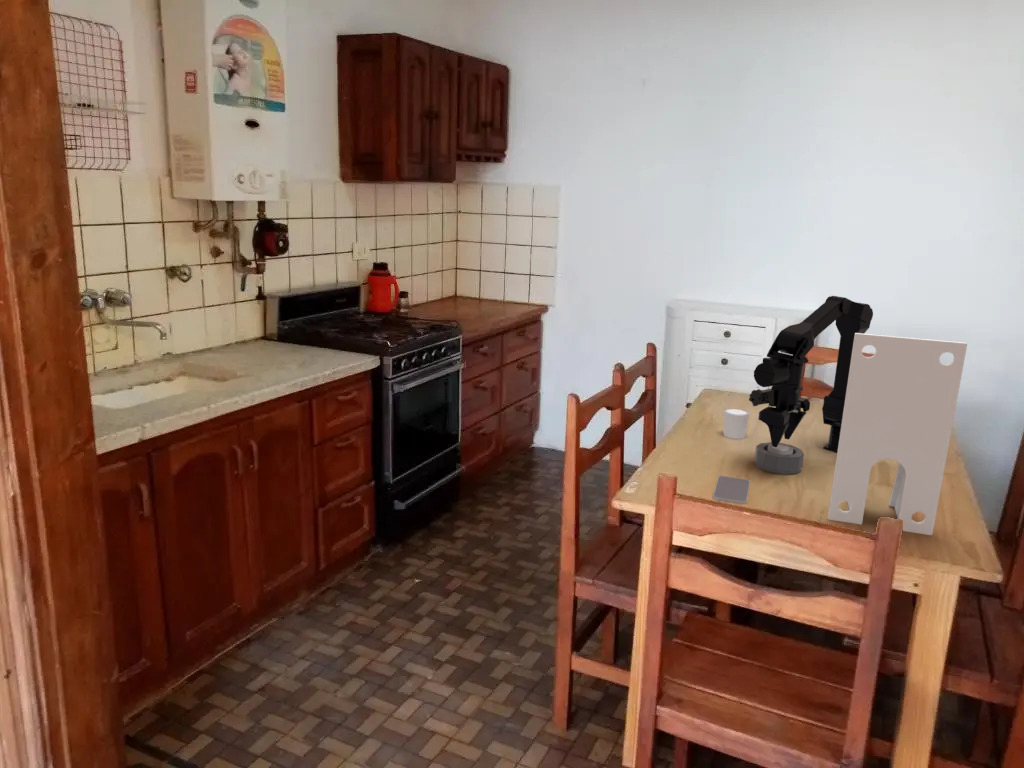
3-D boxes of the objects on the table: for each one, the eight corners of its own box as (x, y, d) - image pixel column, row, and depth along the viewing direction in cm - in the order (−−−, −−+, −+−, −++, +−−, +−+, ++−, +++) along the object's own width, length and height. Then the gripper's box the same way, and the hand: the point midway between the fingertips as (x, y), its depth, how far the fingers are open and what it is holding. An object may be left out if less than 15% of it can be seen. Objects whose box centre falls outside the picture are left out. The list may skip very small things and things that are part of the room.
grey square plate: (750, 479, 190) (746, 502, 177) (750, 483, 191) (746, 506, 177) (718, 475, 193) (712, 497, 179) (718, 478, 193) (712, 500, 179)
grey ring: (764, 456, 208) (766, 439, 207) (807, 466, 202) (809, 449, 201) (747, 466, 200) (749, 449, 199) (791, 478, 194) (793, 460, 192)
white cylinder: (751, 438, 223) (754, 414, 221) (731, 440, 220) (733, 416, 218) (736, 431, 229) (739, 407, 227) (716, 433, 226) (718, 409, 224)
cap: (771, 457, 205) (773, 442, 204) (794, 462, 201) (796, 447, 200) (762, 463, 200) (764, 447, 199) (786, 469, 197) (788, 453, 196)
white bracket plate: (921, 509, 178) (953, 331, 168) (932, 535, 165) (967, 343, 155) (825, 495, 184) (850, 322, 174) (828, 519, 171) (855, 333, 161)
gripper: (770, 369, 207) (763, 427, 211) (741, 382, 193) (734, 444, 197) (814, 377, 201) (806, 437, 205) (787, 391, 187) (779, 455, 190)
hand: (780, 442), depth 199 cm, fingers open, 8 cm apart
